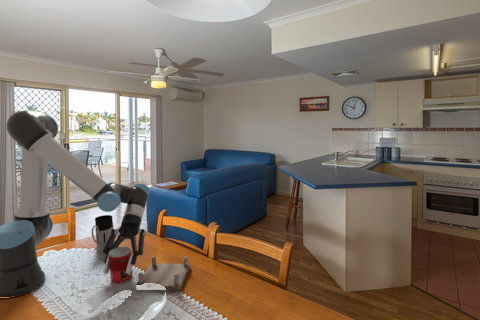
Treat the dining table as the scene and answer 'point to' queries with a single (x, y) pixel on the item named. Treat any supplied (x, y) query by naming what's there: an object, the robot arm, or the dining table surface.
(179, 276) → the peg board
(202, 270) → the dining table surface
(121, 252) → the canned food
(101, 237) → the grey mug
